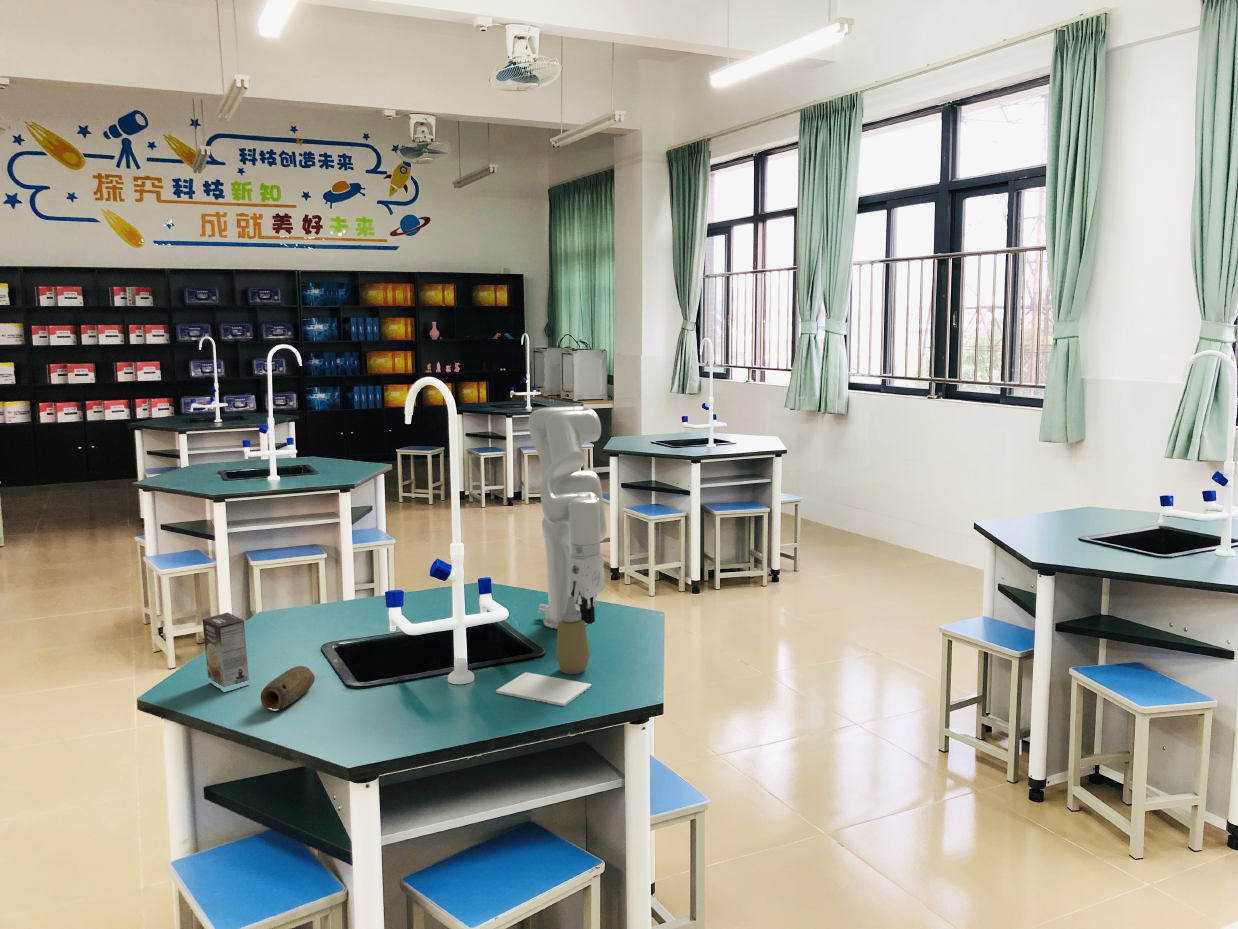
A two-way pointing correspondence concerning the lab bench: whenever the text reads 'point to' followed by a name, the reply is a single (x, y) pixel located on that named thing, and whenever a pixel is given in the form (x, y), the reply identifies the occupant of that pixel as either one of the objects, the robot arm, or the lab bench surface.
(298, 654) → the lab bench surface
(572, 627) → the squeeze bottle
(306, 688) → the brown hollow cylinder
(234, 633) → the coffee box
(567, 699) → the mat
